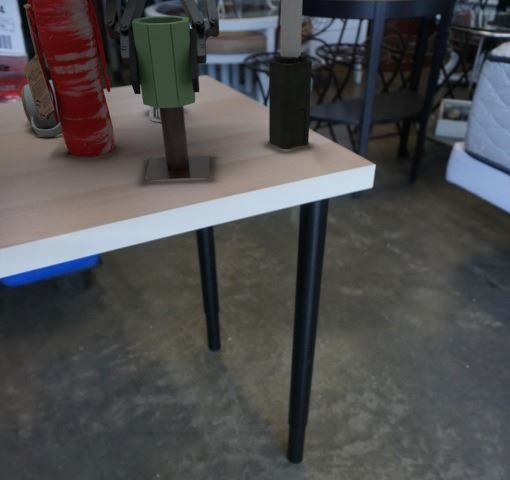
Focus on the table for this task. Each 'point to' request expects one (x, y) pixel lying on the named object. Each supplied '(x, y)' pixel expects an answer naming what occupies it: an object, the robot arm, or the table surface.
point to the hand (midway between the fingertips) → (165, 86)
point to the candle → (290, 83)
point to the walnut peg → (176, 151)
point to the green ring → (164, 60)
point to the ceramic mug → (34, 118)
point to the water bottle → (70, 73)
